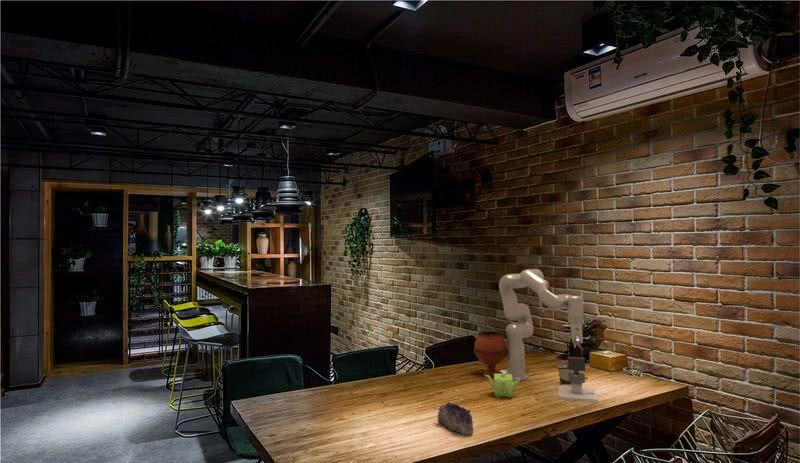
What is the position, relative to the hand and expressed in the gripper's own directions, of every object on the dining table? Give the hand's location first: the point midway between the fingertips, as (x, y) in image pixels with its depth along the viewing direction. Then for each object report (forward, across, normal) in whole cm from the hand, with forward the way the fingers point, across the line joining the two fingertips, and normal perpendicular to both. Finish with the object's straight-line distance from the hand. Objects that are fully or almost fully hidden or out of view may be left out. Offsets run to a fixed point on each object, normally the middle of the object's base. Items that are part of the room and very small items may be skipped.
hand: (577, 353), depth 236 cm
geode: (+22, -58, +52) cm, 80 cm away
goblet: (+20, +27, +47) cm, 58 cm away
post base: (+21, +1, +1) cm, 21 cm away
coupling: (+14, +1, 0) cm, 14 cm away
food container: (+21, +21, +4) cm, 30 cm away
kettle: (+21, -10, +37) cm, 44 cm away
